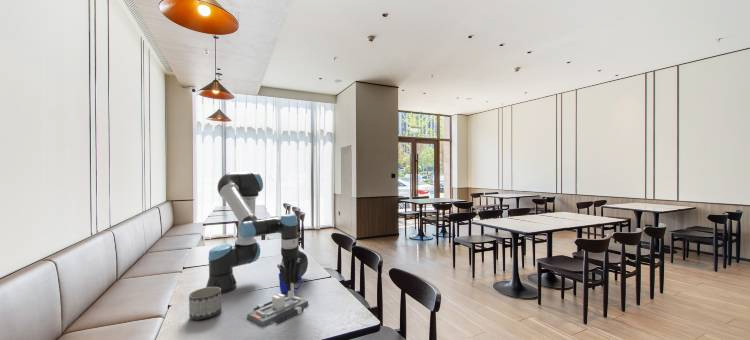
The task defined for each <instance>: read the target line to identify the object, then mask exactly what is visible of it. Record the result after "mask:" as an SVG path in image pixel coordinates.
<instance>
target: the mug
mask: <svg viewBox="0 0 750 340" xmlns="http://www.w3.org/2000/svg"><path fill="white" fill-rule="evenodd" d="M285 273H286V271H285ZM278 279H279V289H280V294H283V295H286V294H287V295H288V291H287V285H286V284H284V283H283V282H282V278H281V274H280V272H279V273H278ZM301 281H302V279H301V275H299V281H298V286H297V287H295V289H294V291H295V290H299V289H300V287H301Z"/></svg>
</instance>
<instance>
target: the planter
mask: <svg viewBox="0 0 750 340" xmlns="http://www.w3.org/2000/svg"><path fill="white" fill-rule="evenodd" d="M188 307H189V308H188V311H189V314H188V315H189V318H190V319H191V320H194V321H195V320H197V321H199V320H205V319H210V318H212V317H215V316H217V315H219V314H220V312H221V311H222V309H223V308H222V307H223V306H222V293H221V288H219V287H206V286H205V287H201V288H198V289H196V290H193V291H191V292H190V293H189V294H188Z"/></svg>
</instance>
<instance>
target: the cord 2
mask: <svg viewBox="0 0 750 340" xmlns="http://www.w3.org/2000/svg"><path fill="white" fill-rule="evenodd" d="M303 311H304V307H298V306H297V307H295V308H294V311H292V312H290V313H287V314H285V315H283V316H281V317H279V318H277V319H276V320H275V323H276V324H279V323H281V322H283V321H285V320H287V319H289V318H291V317H293V316H295V315H300V314H302V313H303Z"/></svg>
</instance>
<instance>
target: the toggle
mask: <svg viewBox="0 0 750 340" xmlns="http://www.w3.org/2000/svg"><path fill="white" fill-rule="evenodd" d="M271 298H272V299H271V301H272V306H273V308H275V309H279V308H281V307H283V306H285V298H286V294H284V293H281V292H280V293H278V294H275V295H272V297H271Z"/></svg>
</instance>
